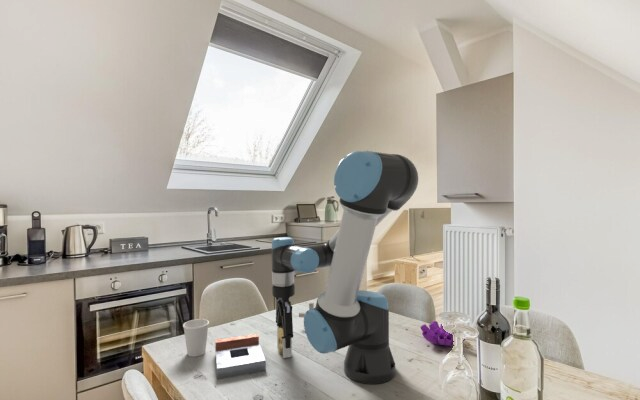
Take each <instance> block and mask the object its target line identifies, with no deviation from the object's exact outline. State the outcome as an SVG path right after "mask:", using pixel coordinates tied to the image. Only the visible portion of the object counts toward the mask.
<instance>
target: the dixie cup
mask: <svg viewBox="0 0 640 400" xmlns="http://www.w3.org/2000/svg"><path fill="white" fill-rule="evenodd" d="M209 324H210V321H209V320H208V319H205V318H196V319H195V318H194V319H191V320H188V321H186V322H184V323H183V324H182V327H183V331H184V339H185V345H186V352H187V353H186V354H187V356H189V357H199V356H203V355H204V354H205V353H206V349H207V341H208V332H209V331H208V330H209Z"/></svg>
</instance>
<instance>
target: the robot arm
mask: <svg viewBox="0 0 640 400" xmlns="http://www.w3.org/2000/svg"><path fill="white" fill-rule="evenodd" d="M418 172H419V171H418V170H417V167H416V165H415V164H414V163H413V162H412V160H411V159H409V158H408V157H406V156H405V155H402V154H393V153H386V152H378V151H370V150H363V151H362V150H361V151H360V150H355V151H352V152H350V153H348V154H347V155H346V156H344V157H343V158H342V159H341V160H340V161H339V163H338V165H337V167H336V169H335V171H334V175H333V176H334V177H333V184H334V186H335V188H334V190H335V193H336V195H337V196H338V197H339V201H338V202H339V204H340V206H341V208H342V216H341V220H340V224H339V227H338V228H339V229H338V230H337V231H336V232H335V233H334V234H333V235H332V236H331V237H330V239H329V240H328V241H327V242H325V243H321V244H312V245H305V246H297V245H296V244H295V241H294V238H293V237H290V236H289V237H274V238H273V239H272V240H271V250H270V251H271V284H272V286H271V292H272V293H271V294H272V297H274V298H275V303H276V304H275V306H276V307H275V323H276V331H277V333H276V334H277V335H276V338H277V342H276V343H277V345H276V346H277V347H278V328H279V327H281V326H283V334H284V336H283V337H281V338H282V339H283V355H282V357H283V359H286V358H287V359H288V358H291V357H293V356H292V354H293V353H292V349H293V347H292V345H293V344H292V338H294V326H293V306H292V304H291V301H290V298H291V297H293V296H295V293H296V291H295V284H294V283H295V276H296V275H297V273H296V272H298V273H302V274H304V273H305V274H311V273H313V272H314V271H315V270H317V269H320V268H326V267H330V268H329V271H328V277H327V281H326V285H325V290H324V291H322V292H320V293H319V294H318V296H317V298H316V299H317V300H316V304H315V306H314V309H313V308H311V309H310V310H309V309H308V310H306V311H305V312H304V313H305V315H304V317H303V327H304V332H305V335H306V339H307V340H308V342H309V343H310V345H311V347H312V348H313V349H314V350H315V351H316V352H318V353H320V354H325V355H326V354H328V353H335V352H336V351H339V350H341V349H343V348H346V347H347V351H346V354H345V358H344V360H343V371H344V374H345V376H347V377H348V378H350V379H351V380H353V381H356V382H359V383H362V384H369V385H370V384H371V385H377V384H383V383H386V382H389V381H391V380H392V379H393V378H394V377H395V376H396V363H395V360H394V357H393V352H392V350H391V347H390V320H389V319H390V308H389V300H388V298H387V296H386V295H384V294H383V293H380V292H376V291H371V290H364V289H362V290H361V289H360V288H361V284H362V281H363V280H362V279H363V275H364V271H365V270H366V264H367V261H368V258H369V253H370V249H371V245H372V242H373V238H374V235H375V230H376V227H377V226H378V225H379V224H380V223H381V222H382V221H383V220H384V219H385V218H386V217H387V216H389V215H390V213H391V212H393V211H394V212H395V211H399V210H400V209H401V208H402V207H403V206H404V205H406V204H407V202H408V201H409V200H410V199H411V198H412V196H413V195H414V194H415V192H416V190H417V188H418V183H419V173H418ZM295 271H296V272H295Z"/></svg>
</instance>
